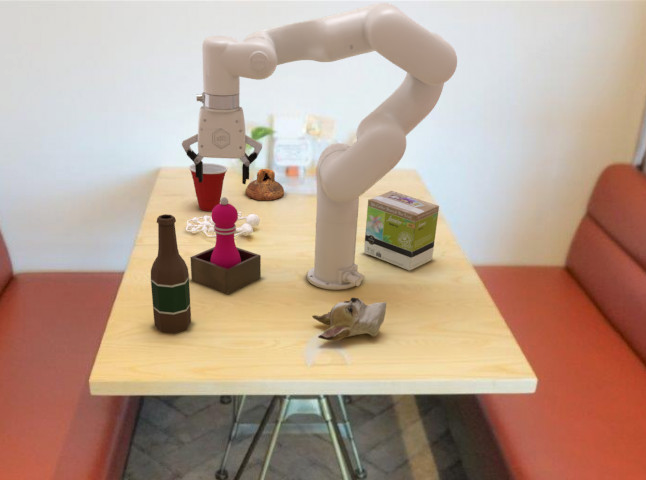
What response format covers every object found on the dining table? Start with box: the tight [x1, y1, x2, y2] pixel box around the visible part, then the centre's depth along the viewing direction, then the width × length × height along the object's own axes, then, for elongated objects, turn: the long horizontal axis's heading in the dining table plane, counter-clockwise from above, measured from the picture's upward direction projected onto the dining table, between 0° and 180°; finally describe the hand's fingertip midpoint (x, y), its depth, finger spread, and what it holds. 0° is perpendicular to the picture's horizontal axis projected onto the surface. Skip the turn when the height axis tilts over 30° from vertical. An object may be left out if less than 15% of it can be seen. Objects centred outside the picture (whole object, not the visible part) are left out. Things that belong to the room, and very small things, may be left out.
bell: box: [245, 168, 285, 201], centre depth 240 cm, size 12×12×7 cm
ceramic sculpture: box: [311, 297, 388, 342], centre depth 167 cm, size 11×9×15 cm
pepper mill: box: [210, 196, 241, 269], centre depth 185 cm, size 7×7×20 cm
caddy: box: [189, 246, 262, 295], centre depth 189 cm, size 12×12×6 cm
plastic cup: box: [188, 162, 228, 212], centre depth 228 cm, size 11×11×12 cm
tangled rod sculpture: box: [185, 211, 261, 238], centre depth 215 cm, size 19×14×4 cm
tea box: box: [363, 190, 440, 272], centre depth 200 cm, size 15×10×15 cm
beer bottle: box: [150, 213, 192, 334], centre depth 164 cm, size 8×8×24 cm
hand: (222, 181), depth 177 cm, fingers open, 9 cm apart
